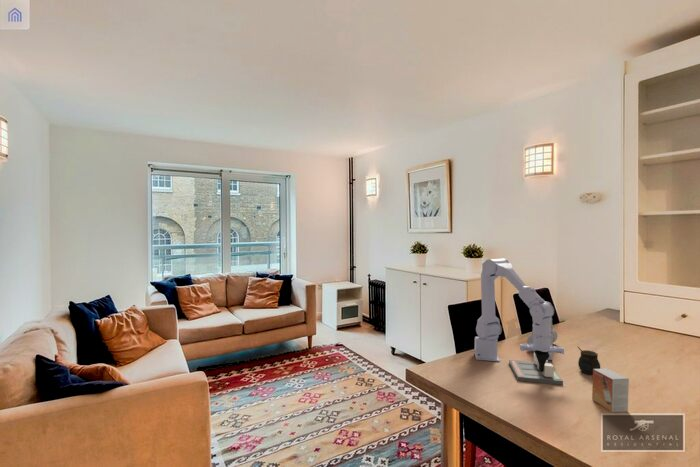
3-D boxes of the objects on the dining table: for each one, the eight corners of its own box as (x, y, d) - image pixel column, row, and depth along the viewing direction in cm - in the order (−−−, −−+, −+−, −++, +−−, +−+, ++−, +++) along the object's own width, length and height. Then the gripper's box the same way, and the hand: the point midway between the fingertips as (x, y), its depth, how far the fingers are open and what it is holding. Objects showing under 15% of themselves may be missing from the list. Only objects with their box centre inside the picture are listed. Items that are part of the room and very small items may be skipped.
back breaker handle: (535, 364, 140) (535, 355, 140) (533, 362, 142) (533, 352, 142) (543, 365, 139) (543, 355, 139) (541, 362, 142) (541, 353, 141)
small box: (591, 400, 115) (592, 368, 115) (607, 399, 116) (607, 367, 116) (611, 412, 107) (612, 379, 107) (628, 412, 108) (629, 378, 108)
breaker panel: (517, 380, 130) (517, 376, 130) (509, 363, 146) (509, 359, 146) (562, 385, 126) (562, 380, 126) (548, 366, 142) (548, 362, 142)
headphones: (539, 340, 176) (539, 302, 175) (558, 344, 170) (558, 304, 169) (526, 350, 161) (526, 309, 161) (546, 355, 155) (546, 312, 155)
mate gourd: (604, 377, 132) (604, 351, 132) (582, 376, 134) (582, 350, 134) (594, 369, 140) (594, 344, 139) (574, 368, 141) (574, 344, 141)
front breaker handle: (544, 376, 129) (544, 365, 129) (542, 373, 132) (542, 362, 131) (553, 377, 128) (553, 366, 128) (551, 374, 131) (551, 363, 131)
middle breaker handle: (539, 370, 134) (539, 360, 134) (537, 367, 137) (537, 357, 137) (547, 371, 134) (547, 360, 133) (545, 368, 136) (545, 358, 136)
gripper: (523, 336, 128) (522, 373, 128) (567, 339, 124) (566, 377, 125) (518, 330, 135) (518, 365, 135) (560, 333, 131) (560, 369, 131)
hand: (541, 370), depth 130 cm, fingers closed
